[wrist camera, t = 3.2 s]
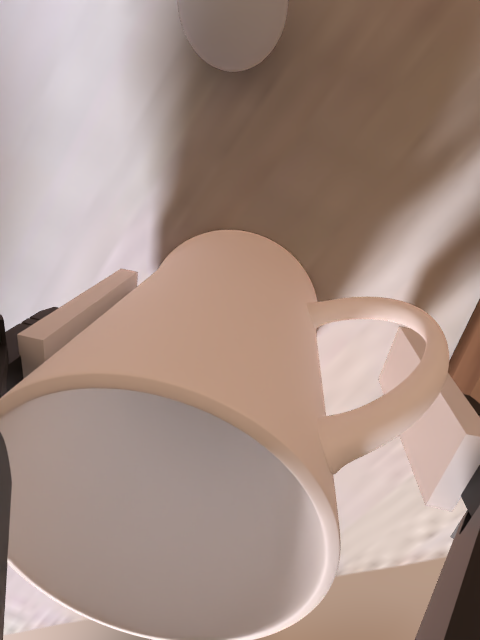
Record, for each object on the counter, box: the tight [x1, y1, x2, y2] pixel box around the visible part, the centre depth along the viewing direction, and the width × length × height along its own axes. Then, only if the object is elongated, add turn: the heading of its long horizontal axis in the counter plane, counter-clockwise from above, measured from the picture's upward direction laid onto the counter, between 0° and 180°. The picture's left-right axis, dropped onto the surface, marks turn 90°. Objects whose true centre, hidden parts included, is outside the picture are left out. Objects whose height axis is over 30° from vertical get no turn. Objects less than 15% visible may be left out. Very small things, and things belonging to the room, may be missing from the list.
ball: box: [177, 0, 288, 72], centre depth 12 cm, size 4×4×4 cm
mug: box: [0, 230, 449, 640], centre depth 13 cm, size 12×8×12 cm
